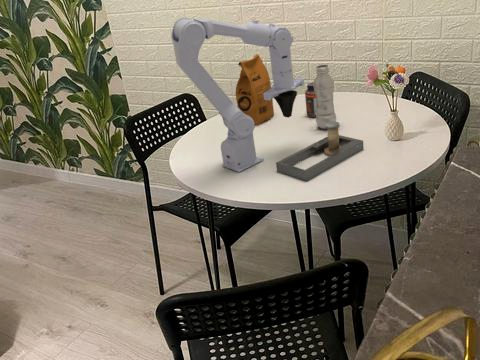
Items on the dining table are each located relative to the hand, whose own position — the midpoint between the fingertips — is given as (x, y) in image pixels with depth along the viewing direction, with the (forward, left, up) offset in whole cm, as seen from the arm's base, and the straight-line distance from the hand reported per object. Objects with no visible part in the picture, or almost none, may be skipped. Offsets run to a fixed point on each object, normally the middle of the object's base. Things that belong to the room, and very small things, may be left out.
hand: (287, 116), depth 148 cm
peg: (+5, -13, -10) cm, 17 cm away
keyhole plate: (0, -13, -10) cm, 17 cm away
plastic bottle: (+19, +2, -11) cm, 22 cm away
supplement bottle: (+26, +13, -11) cm, 31 cm away
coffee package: (+13, +29, -11) cm, 33 cm away
